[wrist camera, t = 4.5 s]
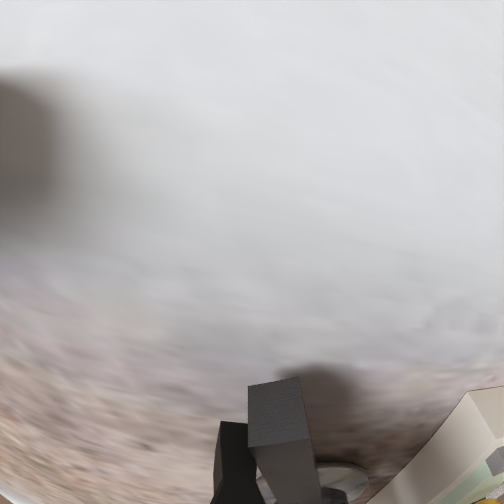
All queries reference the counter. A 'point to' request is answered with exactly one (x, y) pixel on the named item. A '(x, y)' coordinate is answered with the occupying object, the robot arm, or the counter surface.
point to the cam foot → (296, 452)
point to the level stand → (456, 457)
